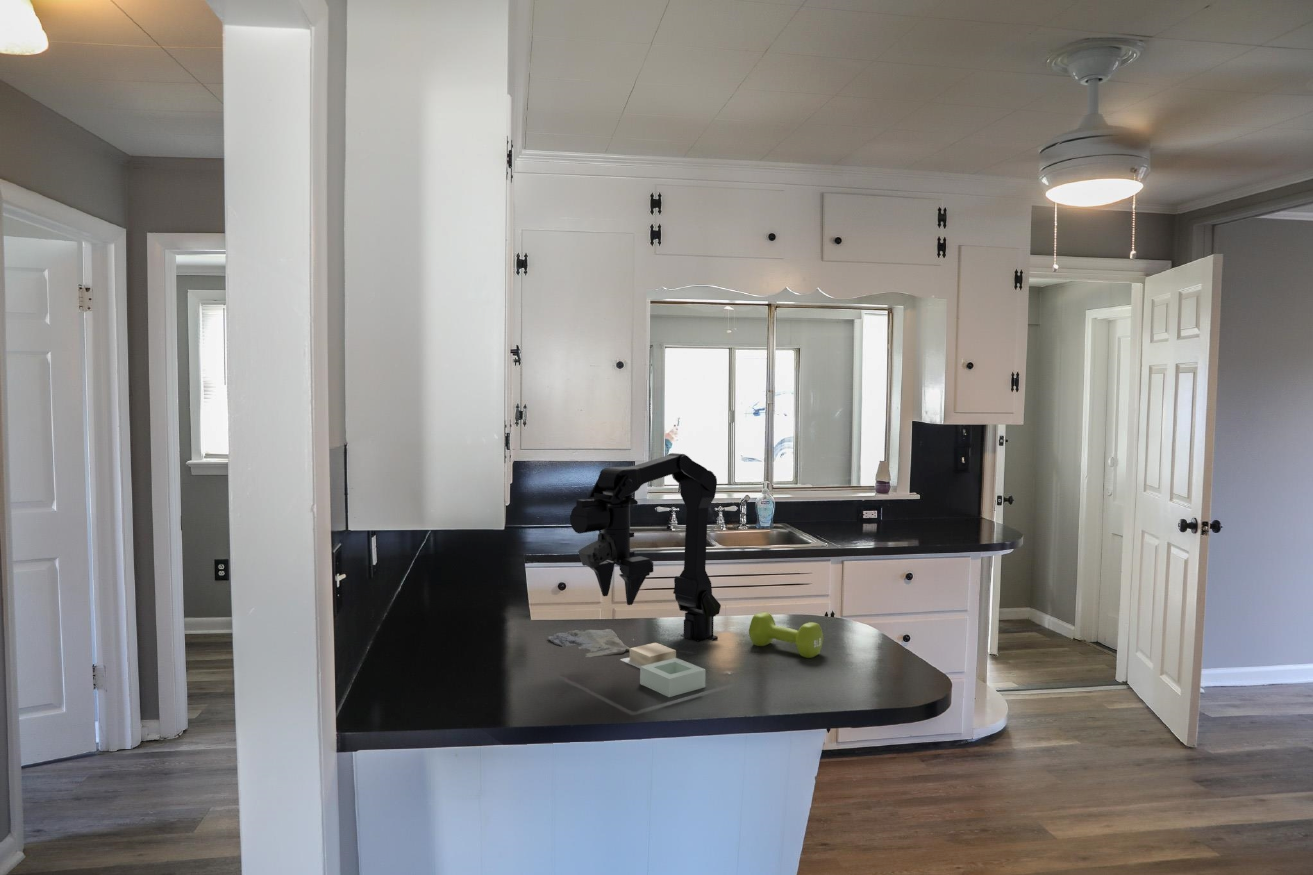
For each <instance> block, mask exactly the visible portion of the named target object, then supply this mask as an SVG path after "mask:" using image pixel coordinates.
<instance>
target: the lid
mask: <svg viewBox="0 0 1313 875" xmlns="http://www.w3.org/2000/svg"><path fill="white" fill-rule="evenodd" d="M629 648H630V647H629ZM629 657H630V660H631V661H633V662H635V663H638V664H640V665H642V666H644V665H648V664H652V663H657V662H661V661H665V660H669V659H673V658H677V650H676V649H673V648H671V647H668V646H665V645H663V644H660V643H658V642H652V643H648V644H643V645H638V646H635V647H631V648H630V651H629Z"/></svg>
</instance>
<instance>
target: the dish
mask: <svg viewBox="0 0 1313 875" xmlns="http://www.w3.org/2000/svg"><path fill="white" fill-rule="evenodd" d="M639 669H640V670H639V684H640V685H641V686H644V687H646V688H649V689H650V690H653V691H655V692H657V693H658V694H659V693H660V694H661V695H663V696H666V697H667V698H671V697H674V696H678V695H682V694H685V693H689V692H693V691H696V690H701V689H703V688H706V671H707V670H706V669H705V668H704V667H700V666H698V665H696V664H693V663H691V662H687V661H685V660H683V659H680V658H677V657H676V658H673V659H669V660H665V661H661V662H657V663H652V664H648V665H644V666H640V668H639Z"/></svg>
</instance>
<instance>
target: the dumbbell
mask: <svg viewBox="0 0 1313 875" xmlns="http://www.w3.org/2000/svg"><path fill="white" fill-rule="evenodd" d="M748 636H749V638H750V641H751V643H752V645H755V646H756V647H765V646H767V645H769V644H771V643H772V642H773V640H776V641H780V642H785V643H790V644H795V646H796V648H797V651H798V653H799V655H800V656H801V657H803V658H806V659H812V658H814V657H816V656H818V655H819V654H820V652H821V649H822V646H823V643H824V634H823V629H822V628H821V625H820V624H819V623H817V622H812V621H811V622H810V621H809V622H805V623H804V624H802V625H801V626H800V627H799V629H798V630H797V629H794V628H790V627H785V626H781V625H780V626H779V625H776V622H775V620H774V617H773V615H772V614H771V613H769V612H765V611H762V612H759V613H756V614H754V615H753V616H752V618H751V621H750V624H749V627H748Z"/></svg>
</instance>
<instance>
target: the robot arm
mask: <svg viewBox="0 0 1313 875" xmlns="http://www.w3.org/2000/svg"><path fill="white" fill-rule="evenodd" d="M668 476H671V477H672V479H673V480H674V481H675V482H676V483H677V484H678V485H679V490H680V497H681V499H682V500H683V503H684V505H685V509H686V511H685V512H686V513H685V538H684V559H683V562H684V563H683V570H682V571H681V573H680V574H679V576H678V575H676V576H675V577H674V579H673V582H674V588H673V591H672V592H673V594H674V598H675V600H676V601H677V605H678V609H679V611H682V612H684V620H683V633H682V634H680V635H679V636H681V637H683V638H684V639H687V640H689V641H690V640H691V641H694V642H703V641H707V640H709V641H714V640H718V639H719V636H717V635H714V619H715V618H714V617H716V616H717V615H720V612H721V608H722V607H721V606H722V605H721V603H720V602H719V601H718V600H717V598H716V597H715V596H714V594H713V588H712V581H711V579H710V577H709V575H708V573H707V571H706V564H707V563H706V562H707V560H706V559H707V539H708V538H707V535H708V534H707V532H708V513H709V512H708V511H709V507H710V505H711V504H712V502H713V501H714V499H715V497H716V492H717V485H718V479H717V476H716V475H715V474H714V472H713V471H711V470H708V469H707V468H706V467H704V466H702V465H701V464H699V463H698V462H696V461H694V460H692V459H691V457H689V456H688V455H687V454H685V453H676V452H675V453H674V452H670V453H669V454H666V455H664V456H661V457H658V458H655V459H652V460H648V461H645V462H642V463H639V464H636V465H633V466H613V467H611V466H609V467H605V468H602V470H600V472H599V475H598V478H597V480H596V482H595V484H594V486H593V488H592V489H591V491H590V493H589V495H588V497H587V499H576V502H575V504H576V505H575V506H574V507H573V508H572V509H571V513H570V515H569V522H570V526H571V527H572V529H573V531H574V532H575V533H576V534H579V535H580V534H587V533H592V532H593V533H594V532H598V531H599V532H598V534H597V540H595V541H593V542H591V543H588V544H587V545H585V546H584V547H582V548H580V549H579V550H578V551H577V552H578V555H579V558H580V561H581V564H582V566H584V567H585V566H587V567H588V568H590V570H592V571H594V575H595V576H596V579H597V582H598V586H599V589H600V592H601V595H602V597H608V596H609V592H610V589H611V586H612V585H611V584H612V581H613V580H612V579H613V574H614V569H615V566H616V565H617V566H619V571H620V573H619V574H618V575H619V577H620V578H621V579H622V580H623V581H624V590H625V599H626V604H627V606H632V605H633V604H634V602H635V600H636V597H637V595H638V593H639V591H640V589H641V587H642V585H643V584H644V581H645V580H646V578H647V577H648V576H650V574H652V573H654V561H653V560H651V559H650V558H648V557H645V556H635V551H633V550H631V538H635V532H634V531H631V506H635V505H639V502H638V500H637V499H635V498H634V497H633V496H632V494H634V493H636V492H637V491H639V489H641V487H642V486H643V485H644V484H645V485H646V484H647V483H651V482H653V481H656V480H660V479H662V478H665V477H668Z"/></svg>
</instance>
